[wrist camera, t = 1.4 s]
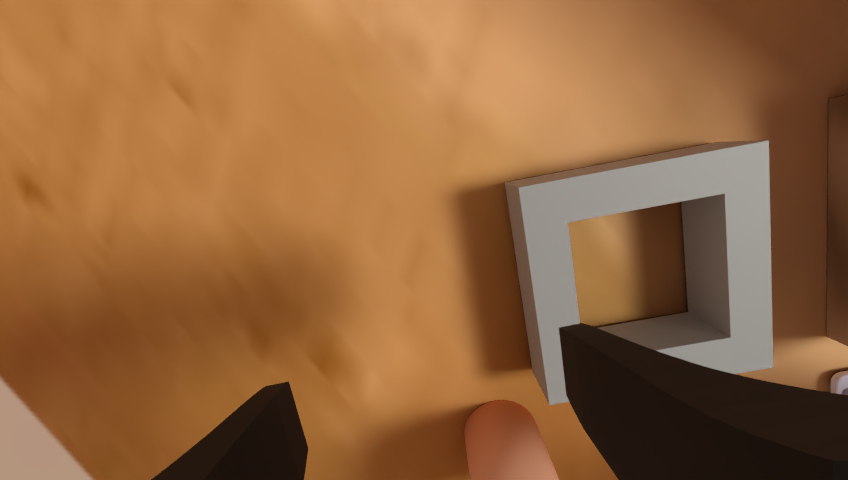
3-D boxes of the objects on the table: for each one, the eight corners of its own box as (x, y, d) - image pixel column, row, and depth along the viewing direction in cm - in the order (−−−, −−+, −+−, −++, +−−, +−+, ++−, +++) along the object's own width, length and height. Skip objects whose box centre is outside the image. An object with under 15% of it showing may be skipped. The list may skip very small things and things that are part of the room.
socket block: (725, 338, 21) (773, 367, 18) (532, 371, 22) (549, 405, 19) (716, 142, 19) (768, 140, 16) (504, 182, 20) (518, 187, 17)
